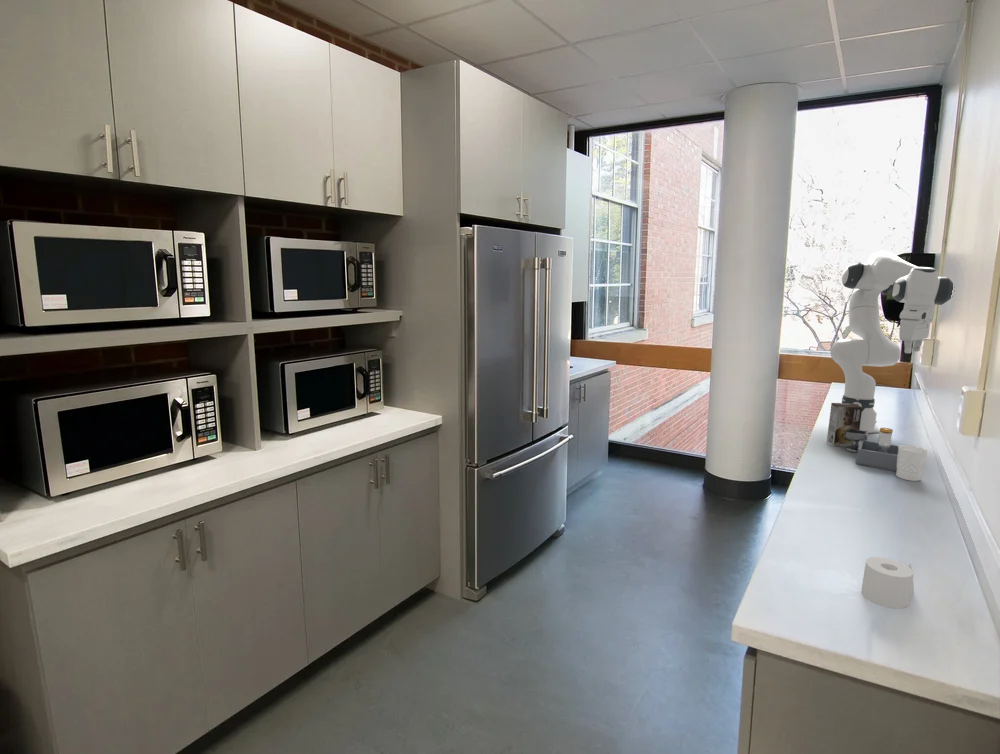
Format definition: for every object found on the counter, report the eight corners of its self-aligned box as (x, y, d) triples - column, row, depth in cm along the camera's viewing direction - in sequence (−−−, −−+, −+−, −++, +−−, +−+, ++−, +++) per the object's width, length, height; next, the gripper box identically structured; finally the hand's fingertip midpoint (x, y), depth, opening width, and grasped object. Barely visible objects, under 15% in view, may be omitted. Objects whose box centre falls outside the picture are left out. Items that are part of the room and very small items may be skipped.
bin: (859, 454, 218) (861, 439, 217) (906, 462, 210) (908, 447, 209) (855, 464, 206) (858, 449, 205) (905, 473, 198) (908, 457, 197)
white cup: (895, 479, 192) (900, 449, 190) (892, 472, 199) (896, 443, 197) (924, 483, 188) (929, 453, 187) (920, 476, 195) (925, 447, 194)
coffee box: (849, 442, 233) (855, 403, 230) (857, 447, 227) (863, 407, 224) (825, 441, 234) (830, 402, 231) (833, 446, 228) (838, 405, 225)
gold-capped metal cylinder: (872, 461, 208) (877, 428, 206) (877, 459, 211) (881, 426, 209) (886, 464, 205) (891, 431, 203) (890, 462, 208) (895, 429, 205)
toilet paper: (913, 592, 123) (919, 561, 122) (904, 614, 115) (909, 581, 114) (869, 577, 128) (873, 548, 127) (856, 597, 120) (861, 566, 119)
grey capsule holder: (845, 447, 226) (847, 428, 225) (865, 450, 223) (868, 431, 221) (843, 451, 221) (846, 432, 220) (864, 455, 217) (867, 435, 216)
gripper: (916, 312, 215) (910, 349, 218) (898, 313, 202) (892, 353, 205) (937, 313, 211) (931, 351, 213) (919, 315, 198) (913, 355, 200)
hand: (911, 352), depth 209 cm, fingers open, 8 cm apart
